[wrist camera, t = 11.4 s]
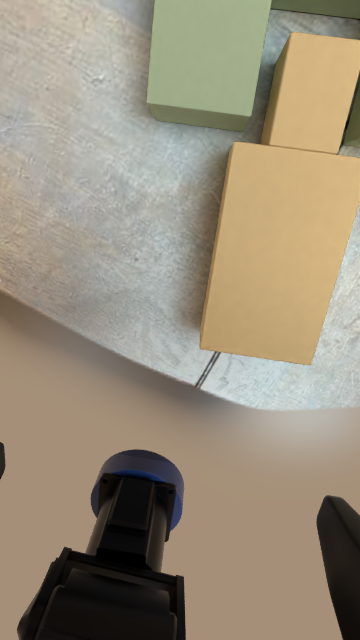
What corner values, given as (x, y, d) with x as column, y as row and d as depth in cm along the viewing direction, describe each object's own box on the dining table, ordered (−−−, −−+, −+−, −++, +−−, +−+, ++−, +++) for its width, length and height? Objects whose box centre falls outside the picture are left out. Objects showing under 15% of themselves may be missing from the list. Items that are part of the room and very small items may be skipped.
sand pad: (296, 343, 20) (311, 366, 17) (200, 329, 20) (199, 349, 17) (370, 74, 15) (408, 44, 12) (244, 58, 15) (252, 25, 13)
